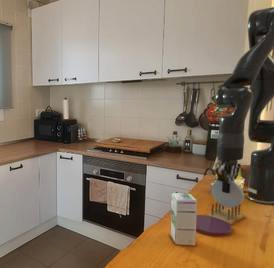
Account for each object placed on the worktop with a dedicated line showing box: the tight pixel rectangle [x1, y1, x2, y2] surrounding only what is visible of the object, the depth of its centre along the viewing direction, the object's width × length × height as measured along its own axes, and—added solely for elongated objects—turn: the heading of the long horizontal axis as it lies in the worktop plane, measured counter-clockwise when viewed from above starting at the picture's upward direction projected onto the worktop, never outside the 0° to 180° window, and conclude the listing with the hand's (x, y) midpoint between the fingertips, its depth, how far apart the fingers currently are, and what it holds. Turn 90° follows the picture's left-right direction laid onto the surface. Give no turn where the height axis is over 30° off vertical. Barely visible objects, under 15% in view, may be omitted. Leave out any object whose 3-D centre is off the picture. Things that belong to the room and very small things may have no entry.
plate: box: [210, 179, 245, 209], centre depth 98 cm, size 1×10×10 cm, turn 31°
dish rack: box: [206, 201, 245, 226], centre depth 99 cm, size 10×8×5 cm
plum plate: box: [196, 214, 233, 237], centre depth 93 cm, size 13×13×1 cm
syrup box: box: [170, 192, 198, 246], centre depth 84 cm, size 6×6×14 cm
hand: (226, 191), depth 98 cm, fingers closed on plate, 1 cm apart
